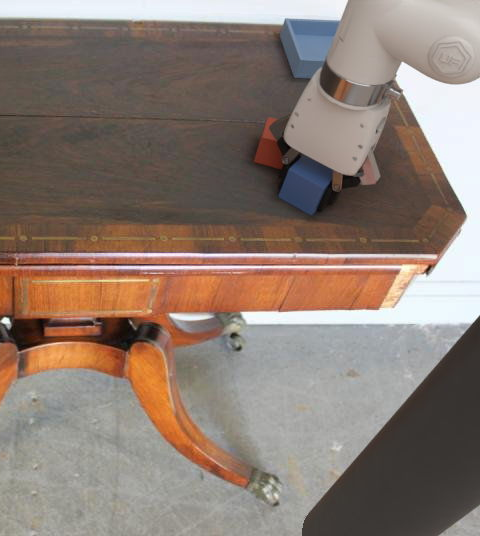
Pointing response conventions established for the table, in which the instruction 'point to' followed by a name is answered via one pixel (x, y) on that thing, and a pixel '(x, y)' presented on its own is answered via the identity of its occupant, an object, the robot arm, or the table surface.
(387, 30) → the robot arm
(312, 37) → the blue bin
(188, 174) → the table surface
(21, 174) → the table surface
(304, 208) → the blue block
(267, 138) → the red block
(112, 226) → the table surface
